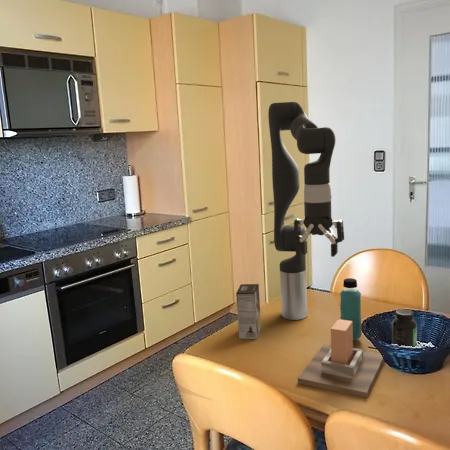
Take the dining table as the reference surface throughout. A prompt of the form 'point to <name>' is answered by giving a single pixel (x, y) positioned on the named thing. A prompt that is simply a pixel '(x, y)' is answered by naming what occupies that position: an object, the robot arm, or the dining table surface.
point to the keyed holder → (343, 372)
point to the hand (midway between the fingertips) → (319, 255)
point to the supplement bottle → (404, 328)
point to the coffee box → (248, 311)
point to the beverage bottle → (351, 306)
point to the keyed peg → (342, 342)
